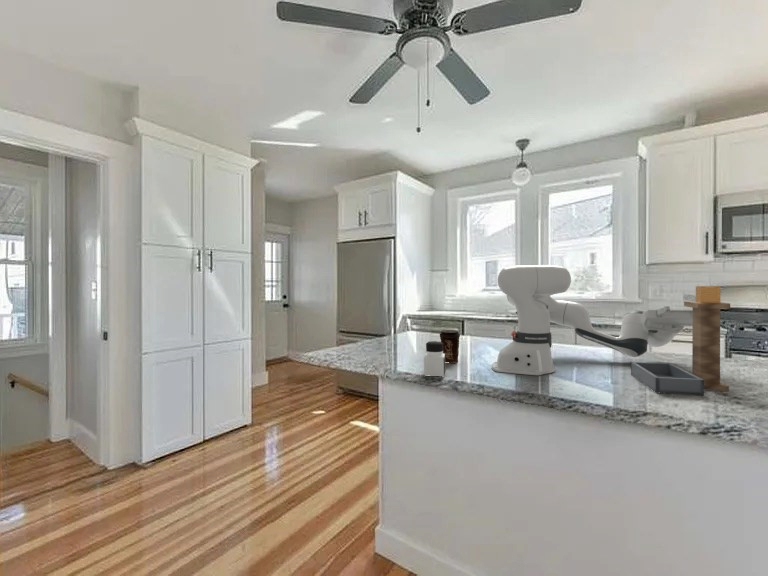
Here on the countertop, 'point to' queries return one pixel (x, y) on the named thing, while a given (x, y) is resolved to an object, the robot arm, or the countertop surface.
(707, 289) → the lock pin
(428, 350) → the medicine bottle
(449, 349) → the coffee cup
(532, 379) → the countertop surface
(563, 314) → the robot arm
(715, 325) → the pedestal
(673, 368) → the tray
